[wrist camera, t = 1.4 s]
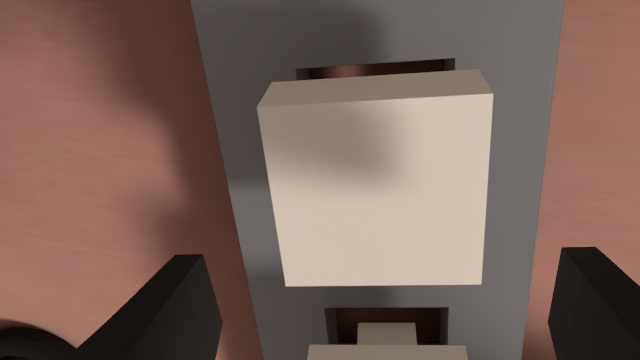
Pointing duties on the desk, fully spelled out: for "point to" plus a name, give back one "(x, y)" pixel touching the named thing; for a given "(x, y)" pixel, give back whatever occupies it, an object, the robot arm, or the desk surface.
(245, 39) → the panel
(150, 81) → the desk surface
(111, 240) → the desk surface
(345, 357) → the cap
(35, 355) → the webcam
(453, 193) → the cap
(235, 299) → the desk surface
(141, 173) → the desk surface
